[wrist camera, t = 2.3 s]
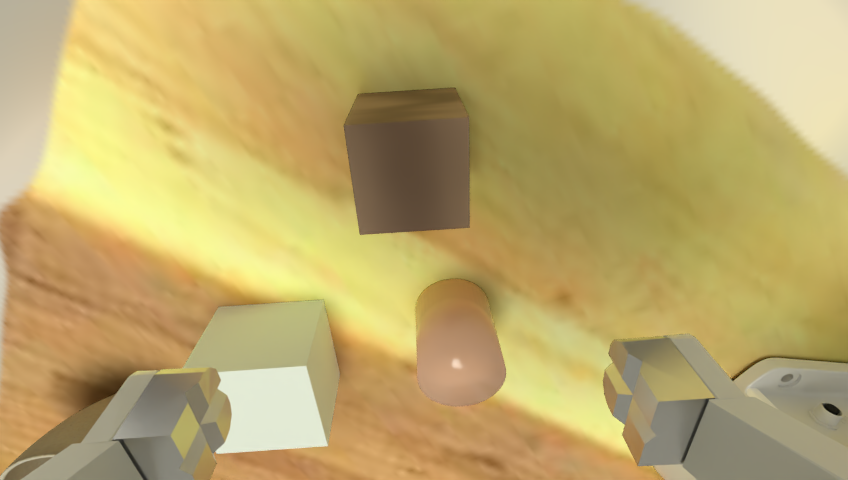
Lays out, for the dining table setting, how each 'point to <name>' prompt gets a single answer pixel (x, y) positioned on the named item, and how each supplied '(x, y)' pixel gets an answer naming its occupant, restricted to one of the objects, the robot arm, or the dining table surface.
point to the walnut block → (409, 160)
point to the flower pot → (56, 440)
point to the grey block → (273, 373)
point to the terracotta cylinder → (457, 344)
